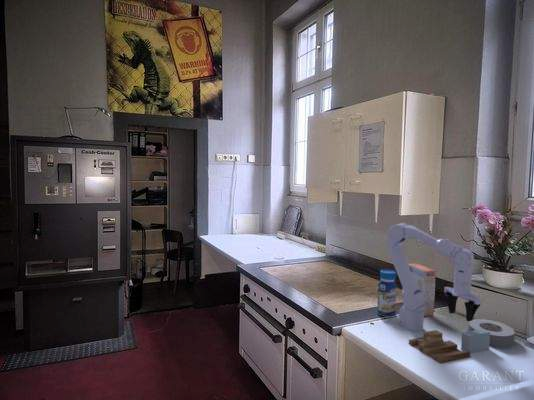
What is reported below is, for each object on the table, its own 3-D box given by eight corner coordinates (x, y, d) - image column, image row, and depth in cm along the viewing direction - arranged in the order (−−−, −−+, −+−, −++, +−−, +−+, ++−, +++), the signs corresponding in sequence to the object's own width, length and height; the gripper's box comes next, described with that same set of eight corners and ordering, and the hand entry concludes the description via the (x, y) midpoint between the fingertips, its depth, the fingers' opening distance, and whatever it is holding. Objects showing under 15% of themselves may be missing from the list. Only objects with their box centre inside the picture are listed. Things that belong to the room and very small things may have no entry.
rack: (408, 346, 133) (408, 339, 133) (437, 340, 138) (437, 334, 137) (440, 366, 119) (440, 359, 119) (471, 359, 124) (472, 352, 123)
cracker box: (434, 316, 162) (436, 270, 160) (422, 316, 161) (424, 271, 159) (416, 304, 175) (418, 262, 174) (405, 305, 174) (407, 263, 173)
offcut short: (423, 338, 132) (423, 332, 132) (435, 336, 135) (436, 329, 134) (429, 342, 130) (429, 335, 130) (442, 339, 132) (442, 333, 132)
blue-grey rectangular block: (461, 351, 128) (462, 332, 128) (481, 347, 132) (482, 328, 131) (468, 355, 126) (469, 336, 125) (488, 350, 129) (490, 332, 129)
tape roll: (504, 353, 129) (504, 339, 129) (460, 337, 141) (461, 324, 141) (520, 341, 138) (521, 329, 138) (478, 327, 150) (479, 315, 150)
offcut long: (417, 344, 132) (417, 339, 132) (436, 341, 135) (436, 336, 135) (423, 348, 129) (424, 343, 129) (443, 344, 132) (443, 339, 132)
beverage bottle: (389, 310, 168) (391, 268, 166) (400, 317, 160) (401, 273, 158) (373, 311, 166) (374, 269, 165) (382, 318, 158) (384, 274, 156)
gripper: (438, 276, 139) (437, 310, 140) (471, 288, 126) (469, 325, 127) (452, 275, 142) (450, 308, 143) (486, 286, 128) (484, 323, 129)
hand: (460, 316), depth 135 cm, fingers open, 7 cm apart
